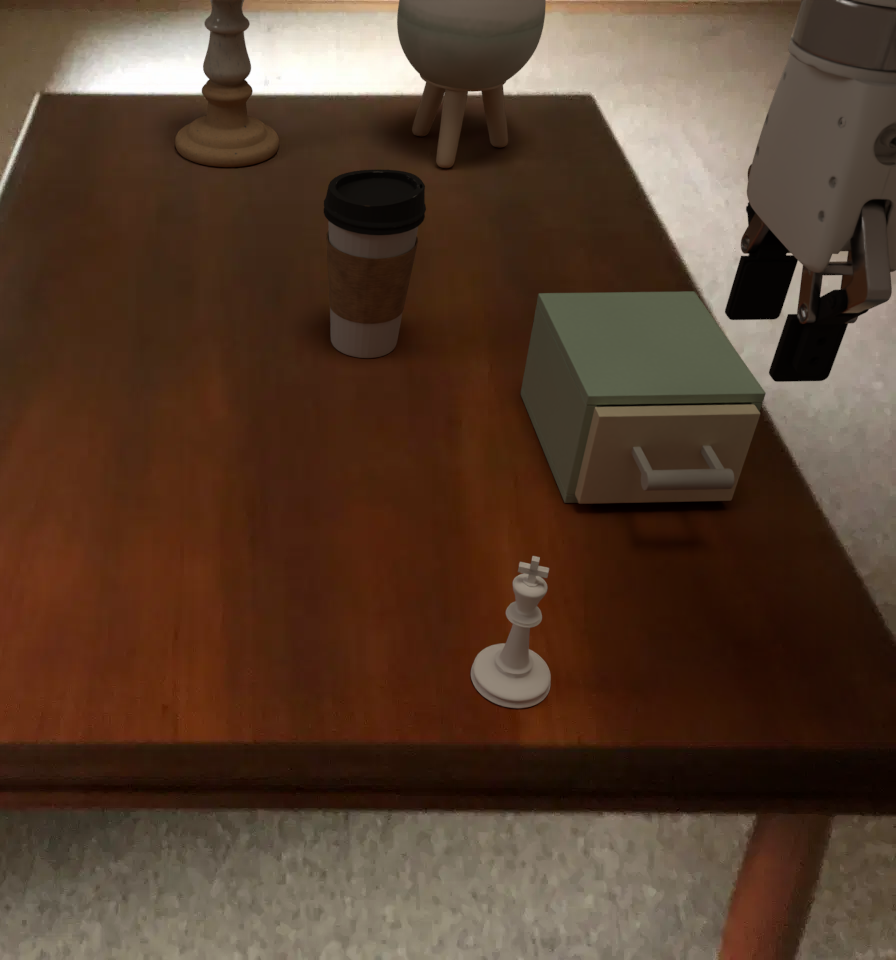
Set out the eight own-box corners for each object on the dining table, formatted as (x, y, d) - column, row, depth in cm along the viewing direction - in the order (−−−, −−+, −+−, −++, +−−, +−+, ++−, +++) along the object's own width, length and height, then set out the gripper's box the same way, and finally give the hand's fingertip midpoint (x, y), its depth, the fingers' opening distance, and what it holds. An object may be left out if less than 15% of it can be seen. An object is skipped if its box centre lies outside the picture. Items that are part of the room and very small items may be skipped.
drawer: (753, 538, 83) (785, 449, 78) (594, 541, 83) (616, 452, 78) (671, 398, 97) (694, 315, 92) (535, 400, 97) (551, 317, 92)
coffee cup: (408, 370, 102) (426, 208, 92) (311, 361, 103) (319, 200, 93) (413, 321, 108) (430, 166, 99) (321, 313, 109) (330, 158, 100)
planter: (542, 142, 142) (576, -56, 129) (489, 188, 132) (520, -22, 118) (422, 114, 149) (442, -77, 135) (362, 156, 138) (377, -46, 125)
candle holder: (153, 150, 139) (146, -30, 126) (219, 120, 147) (218, -53, 134) (236, 177, 133) (236, -9, 121) (299, 144, 141) (306, -34, 128)
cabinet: (730, 500, 88) (766, 393, 82) (564, 503, 87) (588, 395, 82) (667, 391, 100) (694, 290, 94) (519, 394, 99) (538, 292, 93)
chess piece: (545, 717, 71) (575, 596, 65) (464, 697, 72) (485, 577, 66) (554, 660, 75) (583, 541, 69) (477, 642, 76) (499, 523, 70)
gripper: (1056, 90, 51) (908, 432, 62) (871, -22, 64) (777, 275, 75) (886, 91, 50) (767, 435, 61) (736, -22, 64) (661, 276, 75)
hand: (773, 344), depth 68 cm, fingers open, 6 cm apart
